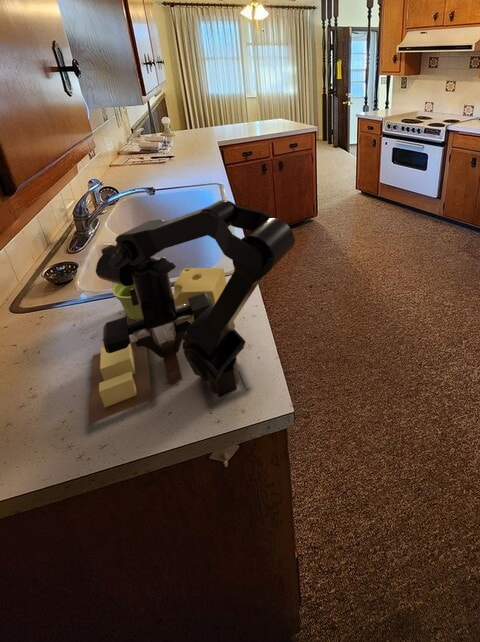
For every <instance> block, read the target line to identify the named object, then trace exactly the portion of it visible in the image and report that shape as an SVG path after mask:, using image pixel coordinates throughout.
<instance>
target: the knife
mask: <svg viewBox="0 0 480 642" xmlns="http://www.w3.org/2000/svg"><path fill="white" fill-rule="evenodd" d="M162 330H163V335H164V340H165V342H162V343H160V346H161V349H162V355H163V358H162V360H163V366H164V371H165V376H166V379H167V385H171V384H173V383H176V382H178V381H181V380H183V375H182V371H181V367H180V362H179V358H178V354H177V353H176V350H175V346H174V339H171V340H169V338H168V334H167V328H166V325H164V326H162Z"/></svg>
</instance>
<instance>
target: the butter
mask: <svg viewBox="0 0 480 642" xmlns="http://www.w3.org/2000/svg"><path fill="white" fill-rule="evenodd" d="M131 343H132V342H131ZM131 343H130V344H129V345H128V347H127V348H125V349H122V350H119V351H116V352H113V353H106V350H105V347H104V346H102V347H100V353H101V357H100V370H101V373H102V376H103V379H104V381H106V380H109V379H112V378H115V377H117V376H120V375H123V374H126V373H128V372H131V373H132V375H133V374H135V364H134V353H133V349H132V346H131Z"/></svg>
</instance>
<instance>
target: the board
mask: <svg viewBox="0 0 480 642" xmlns="http://www.w3.org/2000/svg"><path fill="white" fill-rule="evenodd" d="M131 346H132V349H133V353H134V364H135V374H133V375H132V376H133V379H134V382H135V386H136V394H137V395H136V396H133V397H131V398H128V399H125V400H123V401H120V402H118V403H115V404H113V405H110V406H108V407H104V404H103V401H102V398H101V396H100V393H99V383H101V382H104V379H103V376H102V373H101V370H100V357H101V352H99V353H96V354H93V355H92V370H91V371H92V372H91V386H90V404H89V420H88V423H89V425H91V424H94V423H97V422H99V421H102V420H104V419H106V418H109V417H111V416H113V415H116V414H118V413H121V412H124V411H127V410H129V409H131V408H134V407H137V406H139V405H141V404H143V403H146V402H149V401H151V400H152V399H153V396H152V388H151V387H152V386H151V380H150V371H149V370H150V369H149V363H148V353H147V348H146V347H144V346H141V347H137V346H136V341H135V340H134V341H132V342H131Z"/></svg>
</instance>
